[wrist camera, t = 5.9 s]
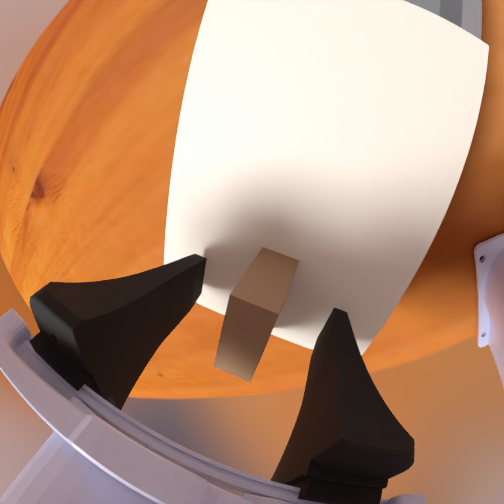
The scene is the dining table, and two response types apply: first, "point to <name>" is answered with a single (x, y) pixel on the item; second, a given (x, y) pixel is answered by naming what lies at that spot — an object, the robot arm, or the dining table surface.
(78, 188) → the dining table surface
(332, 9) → the lid
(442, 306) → the dining table surface
